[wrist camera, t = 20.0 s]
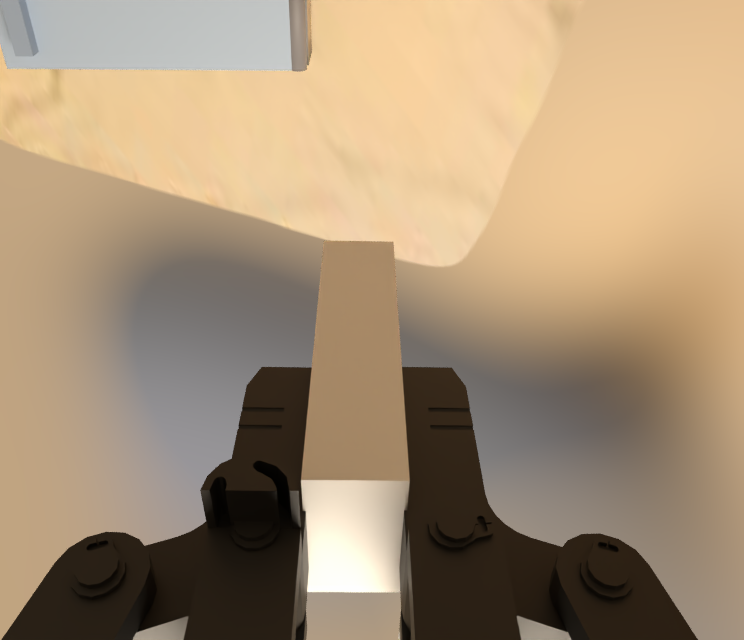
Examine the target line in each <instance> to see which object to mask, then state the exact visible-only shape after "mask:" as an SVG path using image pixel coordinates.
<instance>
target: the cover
mask: <svg viewBox="0 0 744 640" xmlns="http://www.w3.org/2000/svg"><path fill="white" fill-rule="evenodd" d="M0 45H1V48H2V52H3V55H4V59H5V62H6V66H7V69H119V70H268V71H305V70H307V52H306V21H305V0H0Z"/></svg>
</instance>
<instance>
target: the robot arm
mask: <svg viewBox="0 0 744 640" xmlns="http://www.w3.org/2000/svg"><path fill="white" fill-rule="evenodd" d="M200 491H201V496H202V501H203V505H204V511H205V516H206V522H205V523H204V524H203V525H201V526H199V527H198V528H196V529H194V530H193V531H191V532H189V533H186V534H184V535H181V536H178V537H175V538H172V539H168V540H165V541H161V542H157V543H154V544H150V545H147V546H144V545H143V544H142V542H141V541H140V540H139V539H137V538H135V537H133V536H131V535H129V534H126V533H120V532H105V533H101V534H97V535H93V536H90V537H87V538H85V539H83V540H81V541H80V542H78V543H76V544H75V545H73V546H71V547H70V548H68V549H67V551H66V552H65V553H64V554H63V555H62V556H61V557H60V558H59V559H58V560H57V561H56V562H55V563H54V565H53V567H52V568H51V569H50V571H49V572H48V574H47V575H46V576H45V578H44V579H43V581H42V582H41V584H40V585H39V586H38V588H37V589H36V591H35V592H34V594H33V595H32V597H31V598H30V600H29V601H28V602H27V604H26V605H25V607H24V608H23V610H22V611H21V612H20V614H19V615H18V617H17V618H16V620H15V621H14V623H13V624H12V626H11V627H10V628H9V630H8V631H7V633H6V634H5V635H4V637H3V638H2V640H306V634H307V621H306V601H307V592H400V591H401V617H400V628H399V639H398V640H698V639H697V638H696V636H695V635H694V633H693V632H692V630H691V629H690V627H689V625H688V624H687V622H686V621H685V619H684V618H683V616H682V615H681V613H680V612H679V610H678V609H677V607H676V606H675V604H674V603H673V601H672V599H671V598H670V596H669V595H668V593H667V592H666V590H665V589H664V587H663V586H662V584H661V583H660V581H659V579H658V578H657V576H656V575H655V573H654V572H653V570H652V569H651V567H650V566H649V564H648V563H647V562H646V561H645V560H644V559H643V558H642V556H641V555H640V554H639V553H638V552H637V551H636V550H635V549H633V548H632V547H630V546H629V545H627V544H625V543H624V542H622V541H621V540H619V539H616V538H613V537H610V536H606V535H603V534H581V535H579V536H577V537H575V538H572V539H570V540H568V541H567V542H566V543H565V545H564V546H563V547H560V546H557V545H553V544H550V543H547V542H543V541H540V540H537V539H533V538H530V537H528V536H525V535H523V534H520V533H518V532H516V531H514V530H513V529H511V528H510V527H508V526H507V525H505V524H504V523H503V522H502V521H501V520H500V519H499V518H498V517H497V516H496V515H495V513H494V512H493V510H492V509H491V507H490V506H489V504H488V501H487V498H486V495H485V490H484V485H483V479H482V474H481V468H480V463H479V457H478V451H477V446H476V440H475V435H474V430H473V423H472V418H471V413H470V407H469V401H468V395H467V390H466V387H465V385H464V384H463V382H462V381H461V380H460V378H459V377H458V376H457V374H456V373H455V372H454V370H453V369H452V368H431V367H429V368H428V367H402V362H401V347H400V333H399V318H398V303H397V290H396V275H395V261H394V245H393V242H372V241H324V246H323V255H322V266H321V277H320V287H319V298H318V307H317V318H316V329H315V339H314V349H313V360H312V368H299V367H297V368H296V367H262V368H261V369H260V370H259V371H258V373H257V374H256V375H255V376H254V377H253V379H252V380H251V381H250V383H249V384H248V385H247V388H246V392H245V397H244V402H243V407H242V412H241V416H240V421H239V429H238V431H237V436H236V441H235V445H234V450H233V455H232V459H230V460H228V461H226V462H224V463H221V464H220V465H219V466H218V467H217V468H215V469H214V470H213V471H212V472H211V473H210V474H209V475H208V476H207V478H206V480H205V482H204V484H203V486H202V488H201V490H200Z"/></svg>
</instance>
